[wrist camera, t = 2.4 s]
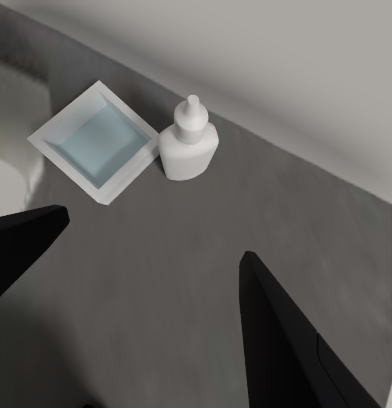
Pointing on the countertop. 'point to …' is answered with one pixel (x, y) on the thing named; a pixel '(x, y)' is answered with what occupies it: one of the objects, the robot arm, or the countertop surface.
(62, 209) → the robot arm
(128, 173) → the square tray
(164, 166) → the eye dropper bottle
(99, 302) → the countertop surface
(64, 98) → the countertop surface
